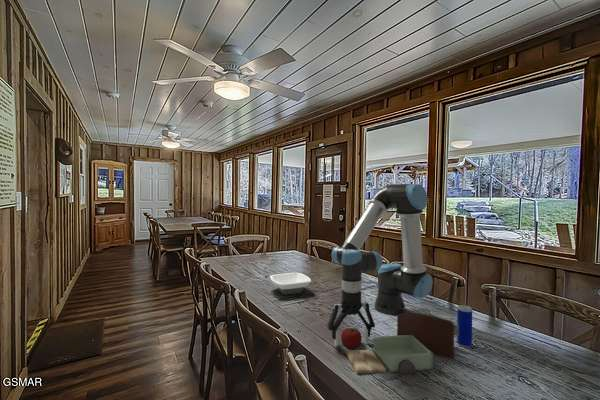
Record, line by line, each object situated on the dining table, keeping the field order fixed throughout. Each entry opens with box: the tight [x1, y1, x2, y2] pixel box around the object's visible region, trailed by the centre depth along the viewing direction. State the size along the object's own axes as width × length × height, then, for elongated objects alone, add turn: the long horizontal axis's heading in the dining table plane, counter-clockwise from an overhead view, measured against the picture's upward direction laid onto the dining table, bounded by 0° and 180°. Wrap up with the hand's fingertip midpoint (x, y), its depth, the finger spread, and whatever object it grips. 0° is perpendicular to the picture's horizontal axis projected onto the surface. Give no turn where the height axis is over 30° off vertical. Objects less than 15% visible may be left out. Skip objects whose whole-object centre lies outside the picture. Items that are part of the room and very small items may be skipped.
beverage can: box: [456, 304, 473, 348], centre depth 118 cm, size 5×5×15 cm
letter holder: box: [396, 312, 455, 359], centre depth 117 cm, size 10×20×14 cm, turn 66°
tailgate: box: [345, 349, 390, 374], centre depth 104 cm, size 13×1×11 cm
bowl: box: [269, 272, 312, 296], centre depth 182 cm, size 22×23×8 cm
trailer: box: [373, 335, 434, 376], centre depth 106 cm, size 18×15×6 cm
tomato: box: [340, 327, 362, 349], centre depth 117 cm, size 8×8×7 cm
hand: (351, 345), depth 117 cm, fingers open, 11 cm apart
